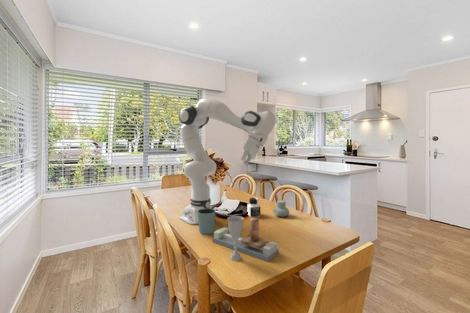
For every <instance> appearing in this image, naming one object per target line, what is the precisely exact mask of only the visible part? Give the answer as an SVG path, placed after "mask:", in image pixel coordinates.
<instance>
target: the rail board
mask: <svg viewBox="0 0 470 313" xmlns="http://www.w3.org/2000/svg"><path fill="white" fill-rule="evenodd" d="M243 238H244V237H242V236H240V237H239V239H237V247H238V248H237V252H239V253H243V254H245V255H248V256H251V257H254V258H256V259H259V260H261V261H264V262H267V263H268V262H270V261H271V260H272V259H273V258H274V257H276V255H278V254H279V248H278V242H275V241H270V242H268V243H267V244H266V245H264V246H263V247H261V248H260V249H257V248H254V247H251V246H248V245H245V244H242V243H241V240H242V239H243ZM212 243H214V244H218V245H220V246H223V247H225V248H228V249H231V250H234V239H233V238H232V237H231V235H230V232H229V229H228V227H225V226H223V227H222V228H219V229H217V230H214V232H213V237H212Z"/></svg>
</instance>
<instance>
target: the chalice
mask: <svg viewBox="0 0 470 313" xmlns="http://www.w3.org/2000/svg"><path fill="white" fill-rule="evenodd" d="M226 219H227V221H228V222H227V223H228V224H227V225H228V227H227V228H228V233H230V235H231V237H232V238H233V239H234V249H233V251H232V252H231V254H230V256H229V259H230V261H235V262H237V261H240V260H242V257H241V253H240V252H239V251H237V248H238V247H237V239H239V237H241V234H242V231H243V229H244V228H243V227H244V225H243V224H244V223H243V221H244V220H245V218H244V217H243V216H241V215H230V216H228V217H227V218H226Z"/></svg>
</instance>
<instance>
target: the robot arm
mask: <svg viewBox="0 0 470 313" xmlns="http://www.w3.org/2000/svg"><path fill="white" fill-rule="evenodd" d="M178 118H179V121H180V123H182V124H183V125H181V127H180V135H181V136H180V137H181V141H182V144H183V146H184V149H185V152H186V154H187V156H189V157H191V159H192V160H191V161H189V162H187V163H186V164H184V167H183V174H184V176H185V177H186V178H187V179H188V180H189V183H190V185H191V192H192V198H190V199H189V202H190V203H189V204H188V206H186V207H185V208H184V209H183V213H182V215H180V216H179V219H180V220H182V221H183V222H185V223H186V224H187V223H188V224H189V225H199V221H198V213H197V211H198V210H200V209H205V208H211V204H212V203H211V202H212V200H211V199H212V198H211V186H210V185H209V184H208V183H207V181H206V177H208V176H211V175H213V174H214V173H215V172H216V170H217V163H216V162H215V160H214V159H211V157H209V156H210V155H208V153H207V151H206V150H205V148H204V147H203V143H202V140H201V138H200V136H199V132H198V129H199V130H200V129H202V128H203V127H204V126H205V125H207V124H208V122H209V121H210V119H213V120H215V121H218V122H222V123H225V124H228V125H231V126H233V127H235V128H238V129H241V130H243V131H244V132H246V133H248V137H247V139H246V140H245V143H244V145H243V146H242V148H243V150H244V152H243V153H242V157H241V158H240V159H241V160H242V161H243V162H244V165H248V164H249V163H250V161H251V160H255V158H256V157H257V155H258V153H259V151H260V147H263V146H265V144H266V141H268V137H269V135H270V134H271V133H272V131H273V129H274V128H275V125H276V122H277V118H276V116H275V115H274V114H273V113H272V112H270V111H269V110H264V111H260V112H259V111H258V112H257V111H253V110H248V111H245V112H244V113H243V115H242V116H241V117H240V116H238V115H237V114H236V113H234V112H233V111H232V110H231V109H230V108H229V106H228V105H227V104H225V103H223V102H222V101H219V100H217V99H211V98H205V97H204V98H201V99H199V100H198V101H197V104H196V106H194V105H191V106H188V107H184V108H182V109H181V110H180V111H179V114H178ZM211 209H212V208H211Z"/></svg>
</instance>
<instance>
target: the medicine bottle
mask: <svg viewBox="0 0 470 313" xmlns="http://www.w3.org/2000/svg"><path fill="white" fill-rule="evenodd" d="M246 209H247V212H248V214H247V215H248V217H250V218H259V217H261V206H260V204H259V199H258V198H257V197H250V198H249V203H247V208H246ZM247 212H246V213H247Z"/></svg>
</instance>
